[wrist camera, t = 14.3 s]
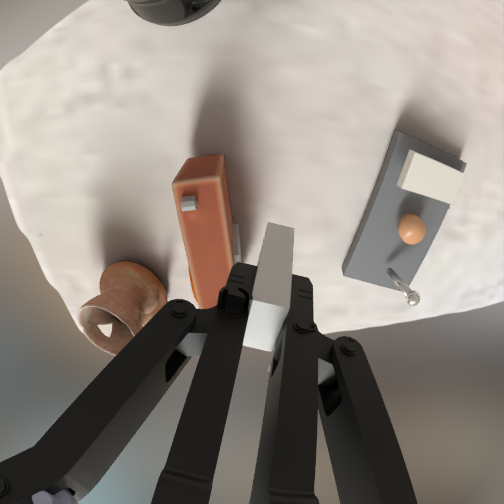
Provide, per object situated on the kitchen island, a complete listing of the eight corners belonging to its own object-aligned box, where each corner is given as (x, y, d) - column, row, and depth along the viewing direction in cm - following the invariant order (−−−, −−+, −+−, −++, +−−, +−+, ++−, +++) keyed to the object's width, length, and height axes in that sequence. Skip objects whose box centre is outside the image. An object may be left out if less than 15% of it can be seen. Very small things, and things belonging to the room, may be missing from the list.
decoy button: (403, 209, 40) (407, 215, 38) (425, 217, 40) (430, 223, 38) (392, 233, 42) (396, 240, 40) (414, 240, 42) (418, 247, 40)
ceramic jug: (119, 312, 64) (90, 357, 52) (94, 257, 57) (55, 299, 45) (191, 313, 61) (168, 367, 48) (169, 250, 54) (135, 300, 41)
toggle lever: (385, 263, 44) (416, 297, 38) (395, 263, 45) (425, 296, 39) (379, 274, 45) (408, 309, 39) (389, 274, 46) (418, 308, 40)
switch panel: (394, 129, 38) (403, 134, 34) (459, 159, 38) (471, 166, 34) (341, 267, 50) (344, 281, 47) (401, 283, 50) (407, 298, 47)
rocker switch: (409, 149, 33) (414, 152, 32) (460, 171, 36) (466, 174, 35) (396, 184, 36) (401, 188, 35) (448, 201, 38) (453, 205, 37)
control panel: (183, 157, 44) (162, 187, 31) (230, 150, 44) (228, 177, 31) (205, 277, 55) (199, 337, 41) (245, 273, 55) (249, 332, 41)
